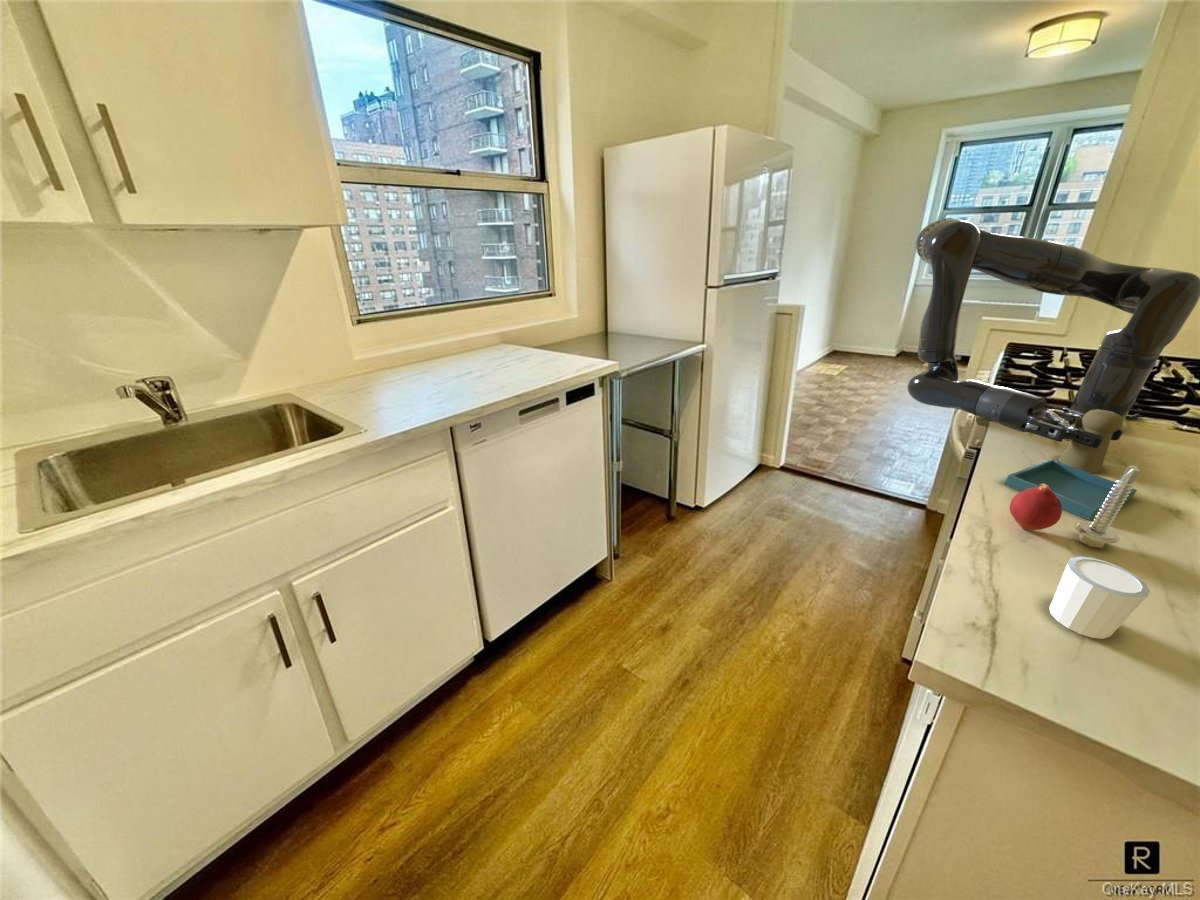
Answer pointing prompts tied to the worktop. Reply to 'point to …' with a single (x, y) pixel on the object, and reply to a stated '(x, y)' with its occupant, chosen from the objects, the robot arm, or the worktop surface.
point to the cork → (1089, 456)
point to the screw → (1107, 513)
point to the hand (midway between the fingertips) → (1110, 439)
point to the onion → (1036, 508)
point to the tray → (1067, 486)
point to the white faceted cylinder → (1096, 597)
